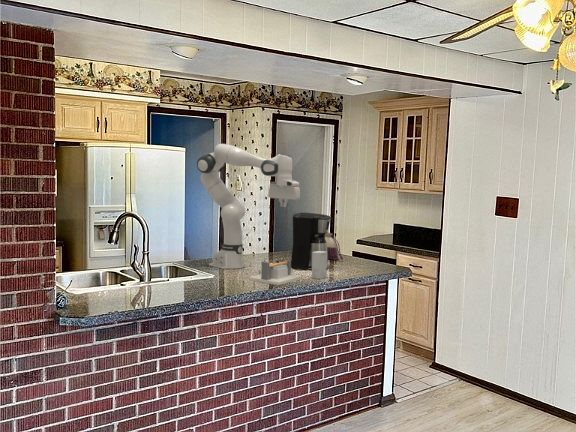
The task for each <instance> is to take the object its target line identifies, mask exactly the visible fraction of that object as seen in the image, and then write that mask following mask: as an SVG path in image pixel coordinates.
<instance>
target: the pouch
mask: <svg viewBox="0 0 576 432" xmlns="http://www.w3.org/2000/svg"><path fill="white" fill-rule="evenodd" d="M324 237H325V240H326V243H327V252H328V260H332V261H340V260H344V257H343V256H342V254H341V247H340V244H339V241H338V240H337V239H336V237H335V236H333V233H331V232H329V231H328V232H327V233H326V234H325V236H324Z"/></svg>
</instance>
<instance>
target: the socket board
mask: <svg viewBox="0 0 576 432" xmlns="http://www.w3.org/2000/svg"><path fill="white" fill-rule="evenodd" d="M279 262H285V259H283V258H280V260H279ZM286 262H287V265H284V264H282V265H278V266H273V267H269V265H270V264H271V263H270V261H265V260H264V261H261V274H257V275H252V276H249V277H248V281H254V282H258V283H259V282H260V283H264V284H270V285H274V286H281V285H284V284H288V283H293V282H296V281H298V280H299V281H300V280H302V279H303V276H302V275H297V274H291V273H292V272H291V271H292V268H291V259H288V260H286Z"/></svg>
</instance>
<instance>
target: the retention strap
mask: <svg viewBox="0 0 576 432" xmlns="http://www.w3.org/2000/svg"><path fill="white" fill-rule="evenodd" d="M269 264H270V265H269V267H273V266H278V265H282V264H287V261H284V262H280V261H279V263H276V262H275V263H269Z"/></svg>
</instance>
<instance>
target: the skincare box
mask: <svg viewBox="0 0 576 432" xmlns="http://www.w3.org/2000/svg"><path fill="white" fill-rule="evenodd" d="M327 265H328V262H327V252H326V251H315V252H312V270H311V278H312V279H318V280H322V279H325V278H327V277H328V276H327V274H328V268H327Z"/></svg>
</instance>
